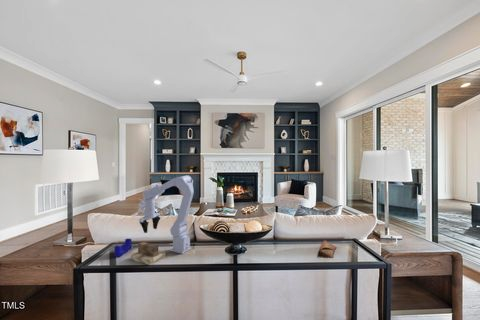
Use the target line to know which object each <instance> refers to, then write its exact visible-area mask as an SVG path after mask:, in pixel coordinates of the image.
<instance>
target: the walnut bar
mask: <svg viewBox="0 0 480 320" xmlns="http://www.w3.org/2000/svg"><path fill="white" fill-rule="evenodd" d="M137 250H138V251H137V252H138V253H142V254H146V255H149V256H153V257H155V256H157V255H159V253H158V250H159V245H158V244H153V243H149V242H145V241H141V242H139V243H137Z"/></svg>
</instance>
